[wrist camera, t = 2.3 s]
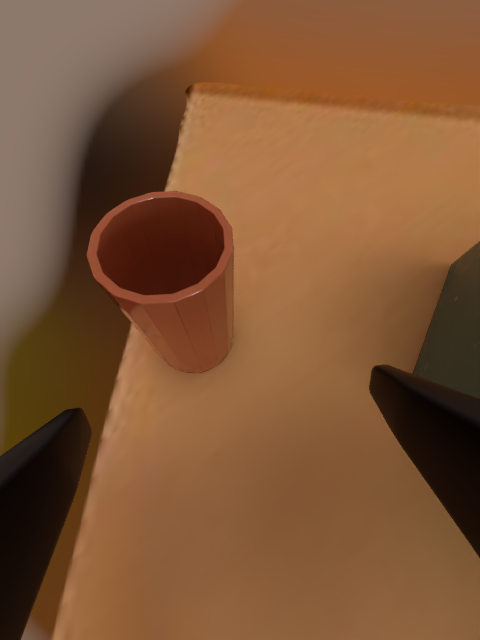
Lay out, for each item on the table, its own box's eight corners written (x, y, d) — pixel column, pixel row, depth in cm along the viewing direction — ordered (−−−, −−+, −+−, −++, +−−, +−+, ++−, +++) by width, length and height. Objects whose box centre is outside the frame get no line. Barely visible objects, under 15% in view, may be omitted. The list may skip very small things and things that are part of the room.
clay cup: (195, 389, 22) (155, 334, 11) (141, 339, 24) (57, 245, 12) (248, 332, 24) (261, 236, 13) (195, 290, 26) (165, 173, 15)
